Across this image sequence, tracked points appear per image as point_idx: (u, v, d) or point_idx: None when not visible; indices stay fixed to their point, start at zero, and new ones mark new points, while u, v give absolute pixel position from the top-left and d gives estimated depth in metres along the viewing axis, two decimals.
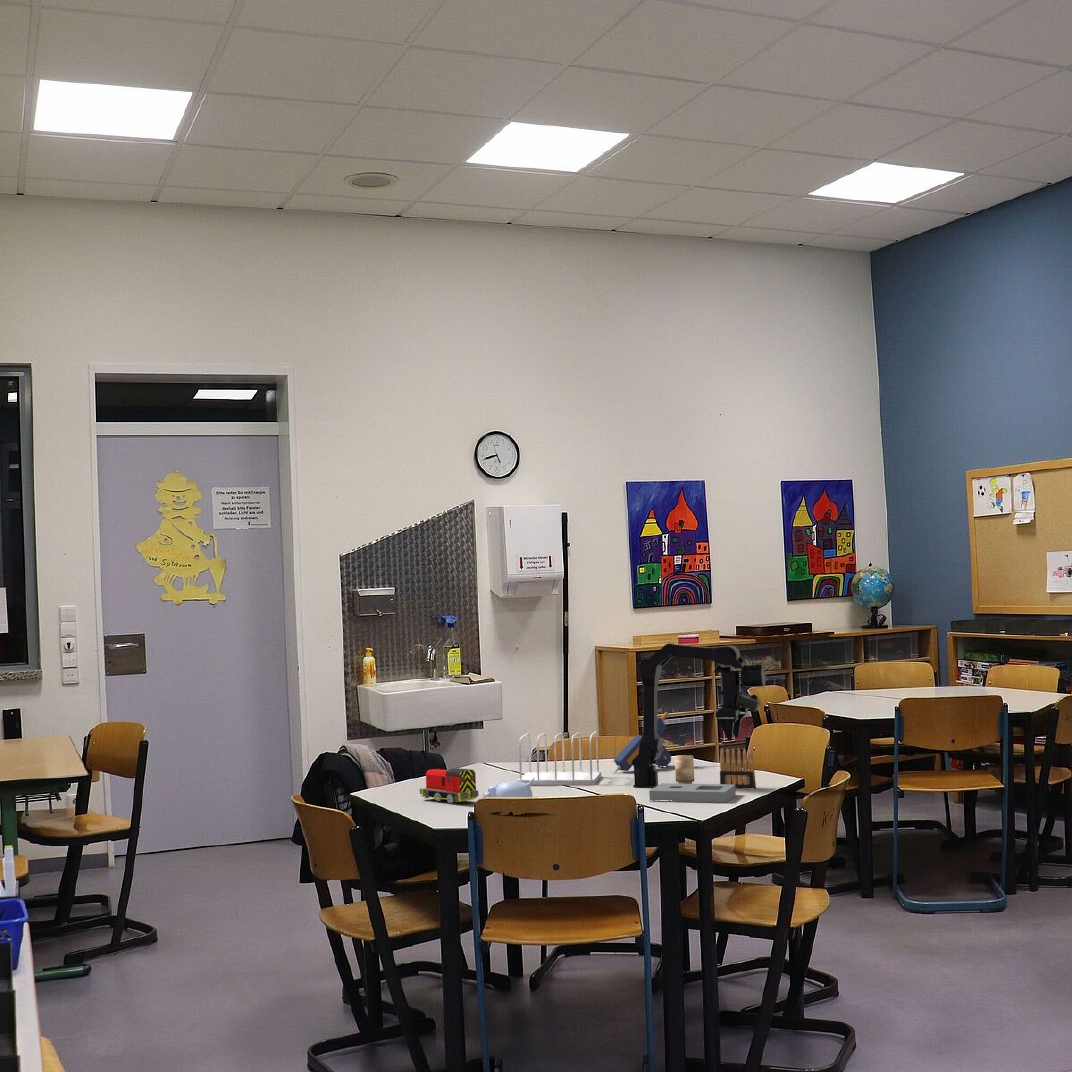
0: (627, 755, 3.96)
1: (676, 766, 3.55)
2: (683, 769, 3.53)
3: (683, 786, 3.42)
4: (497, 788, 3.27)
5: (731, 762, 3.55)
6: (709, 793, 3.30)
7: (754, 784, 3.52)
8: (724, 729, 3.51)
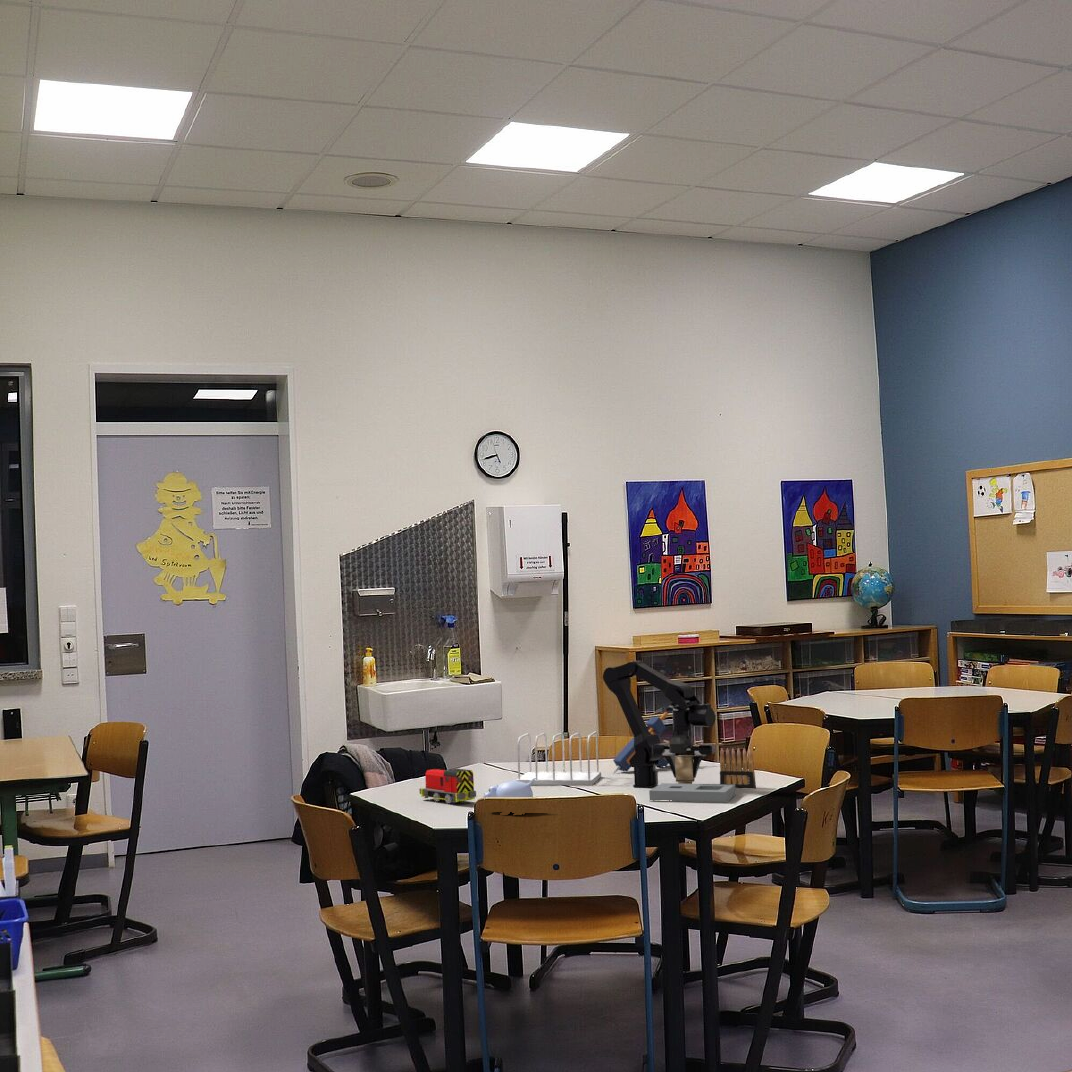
0: (626, 755, 3.96)
1: (676, 766, 3.55)
2: (683, 769, 3.53)
3: (683, 786, 3.42)
4: (497, 788, 3.27)
5: (731, 762, 3.55)
6: (709, 793, 3.30)
7: (754, 784, 3.52)
8: None
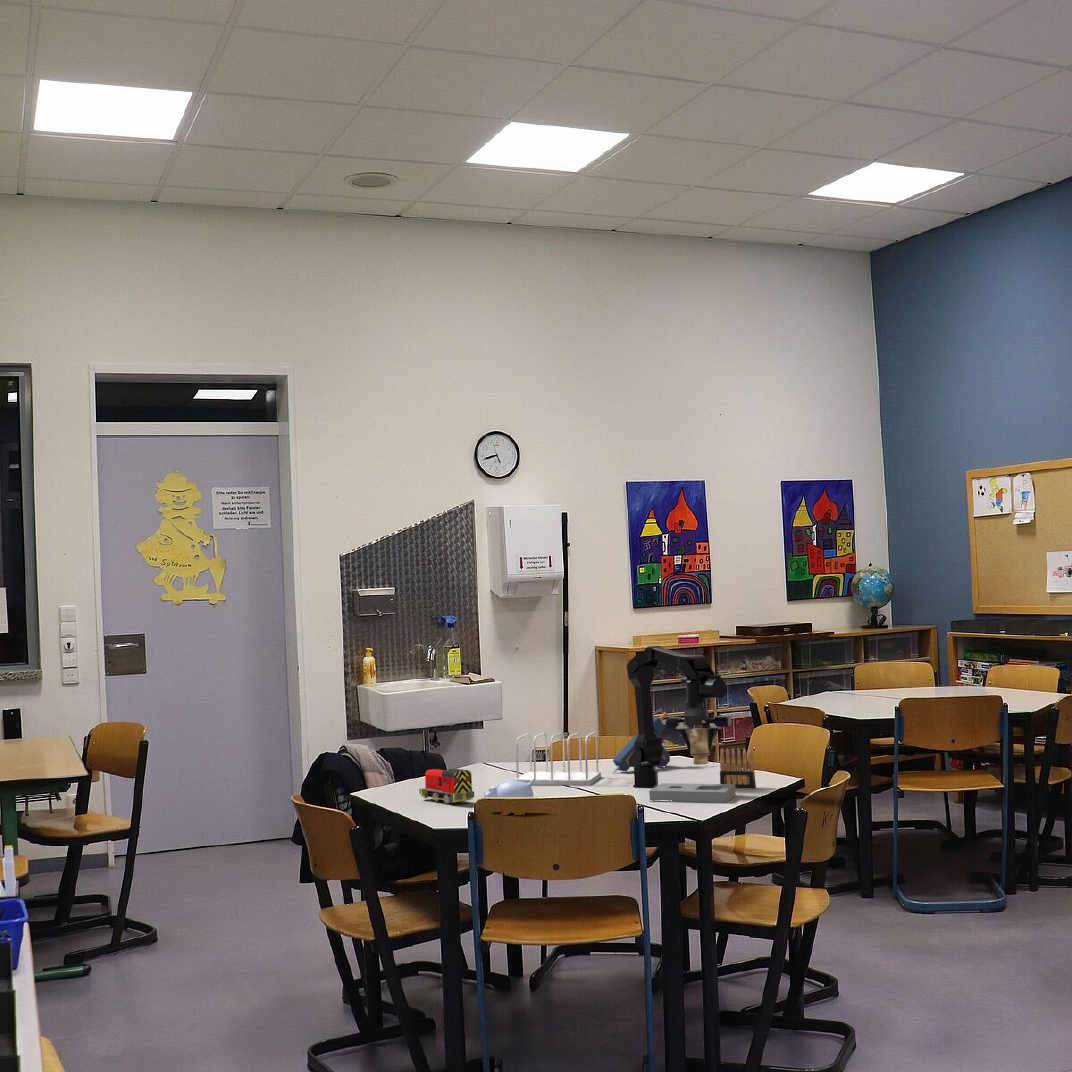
0: (626, 755, 3.96)
1: (691, 739, 3.43)
2: (698, 742, 3.42)
3: (683, 786, 3.42)
4: (498, 788, 3.27)
5: (731, 762, 3.55)
6: (709, 793, 3.30)
7: (754, 784, 3.52)
8: None
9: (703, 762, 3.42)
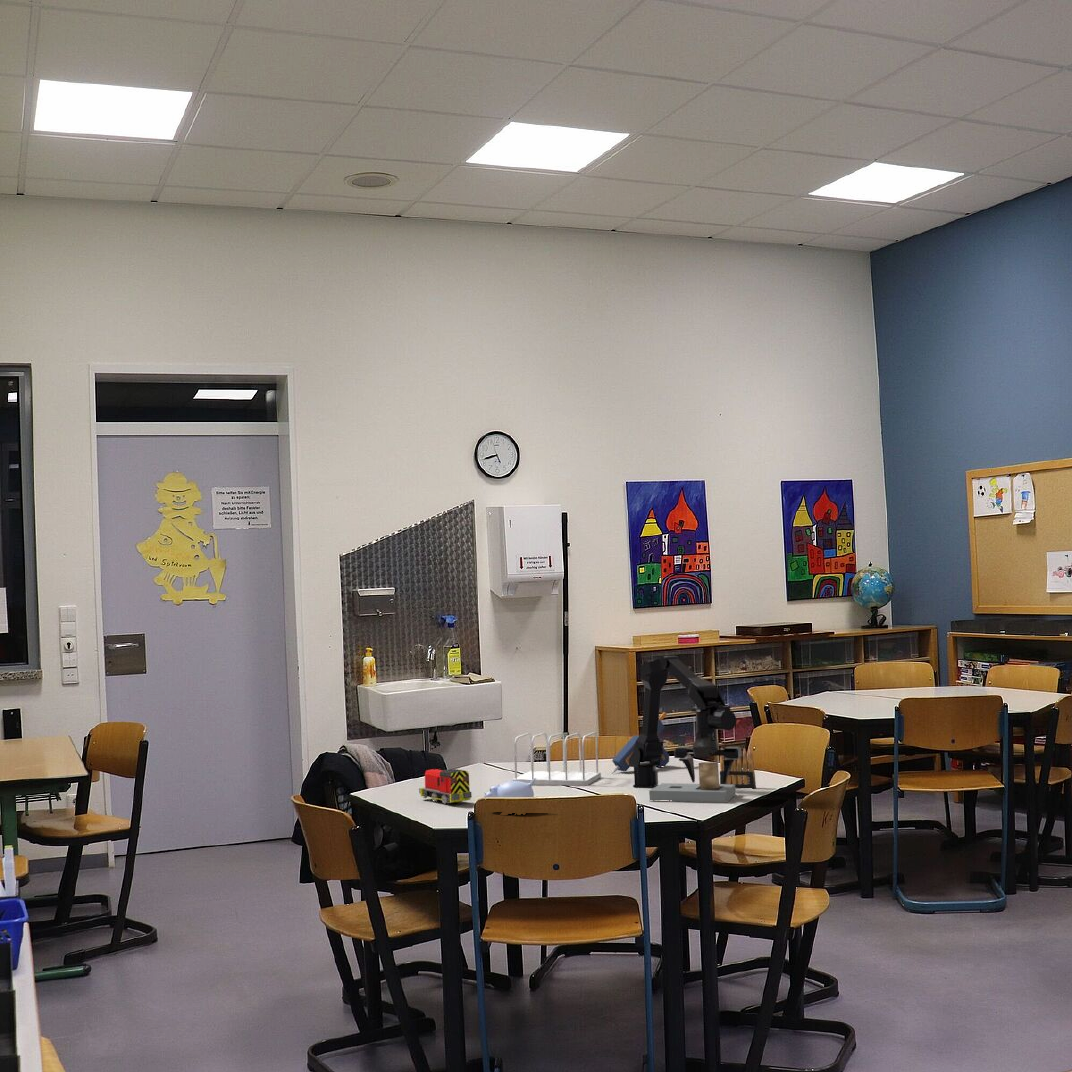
0: (625, 755, 3.95)
1: (700, 774, 3.37)
2: (707, 777, 3.35)
3: (683, 786, 3.42)
4: (498, 788, 3.27)
5: None
6: (709, 793, 3.30)
7: (754, 784, 3.52)
8: None
9: None
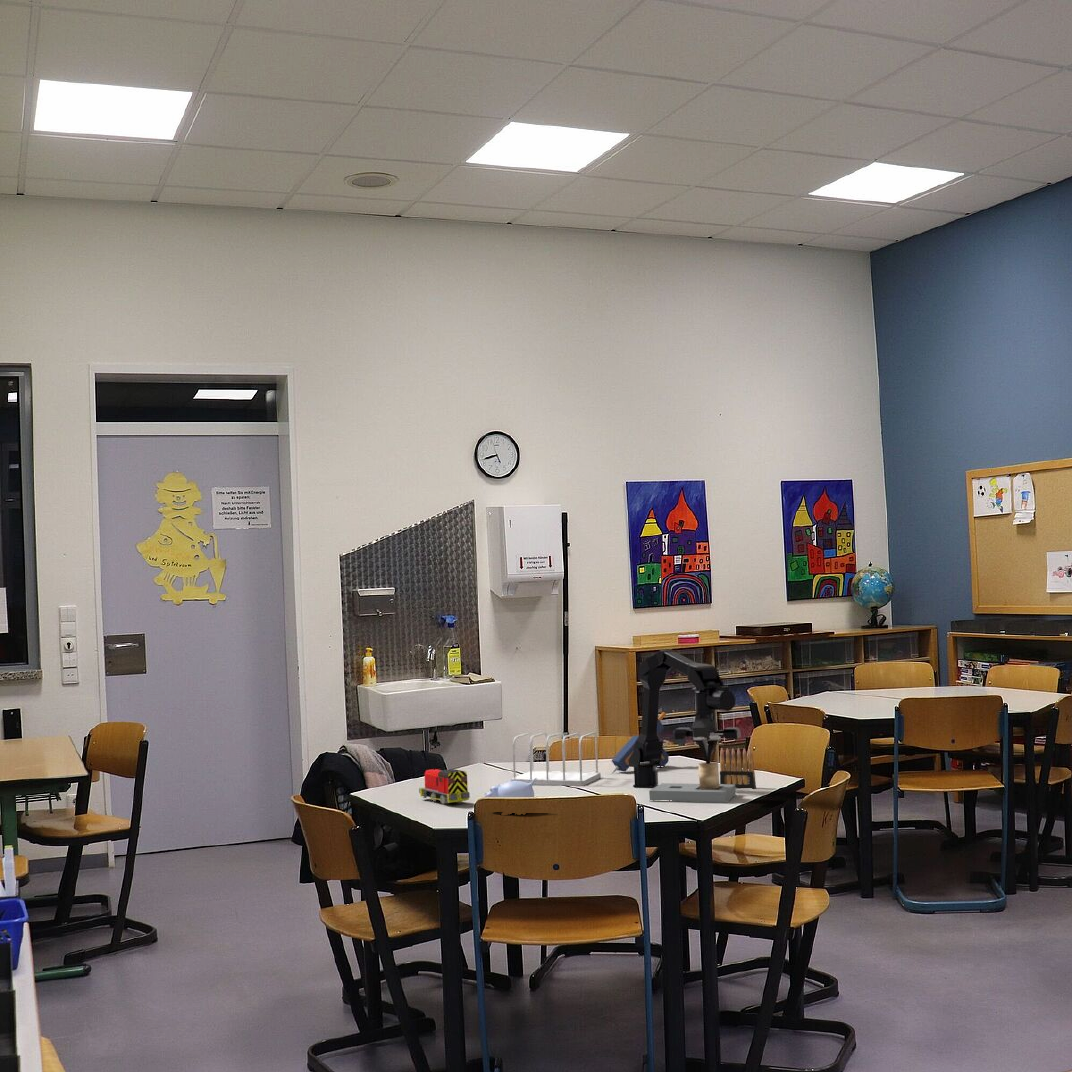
0: (625, 755, 3.95)
1: (700, 774, 3.37)
2: (707, 777, 3.35)
3: (683, 786, 3.42)
4: (499, 788, 3.27)
5: (731, 762, 3.55)
6: (709, 793, 3.30)
7: (754, 784, 3.52)
8: None
9: None
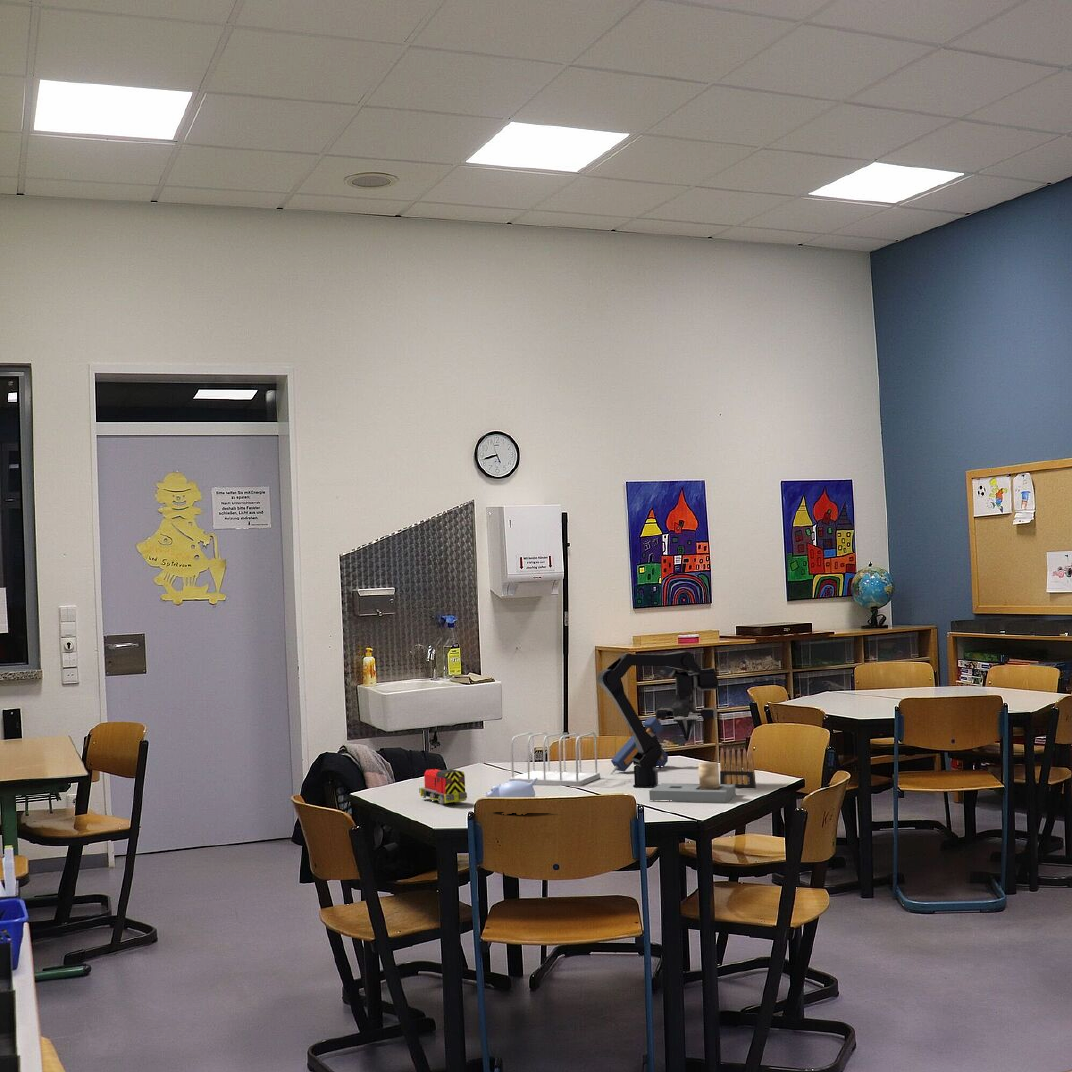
0: (624, 755, 3.95)
1: (700, 774, 3.37)
2: (707, 777, 3.35)
3: (683, 786, 3.42)
4: (500, 788, 3.27)
5: (731, 762, 3.55)
6: (709, 793, 3.30)
7: (754, 784, 3.52)
8: None
9: None
